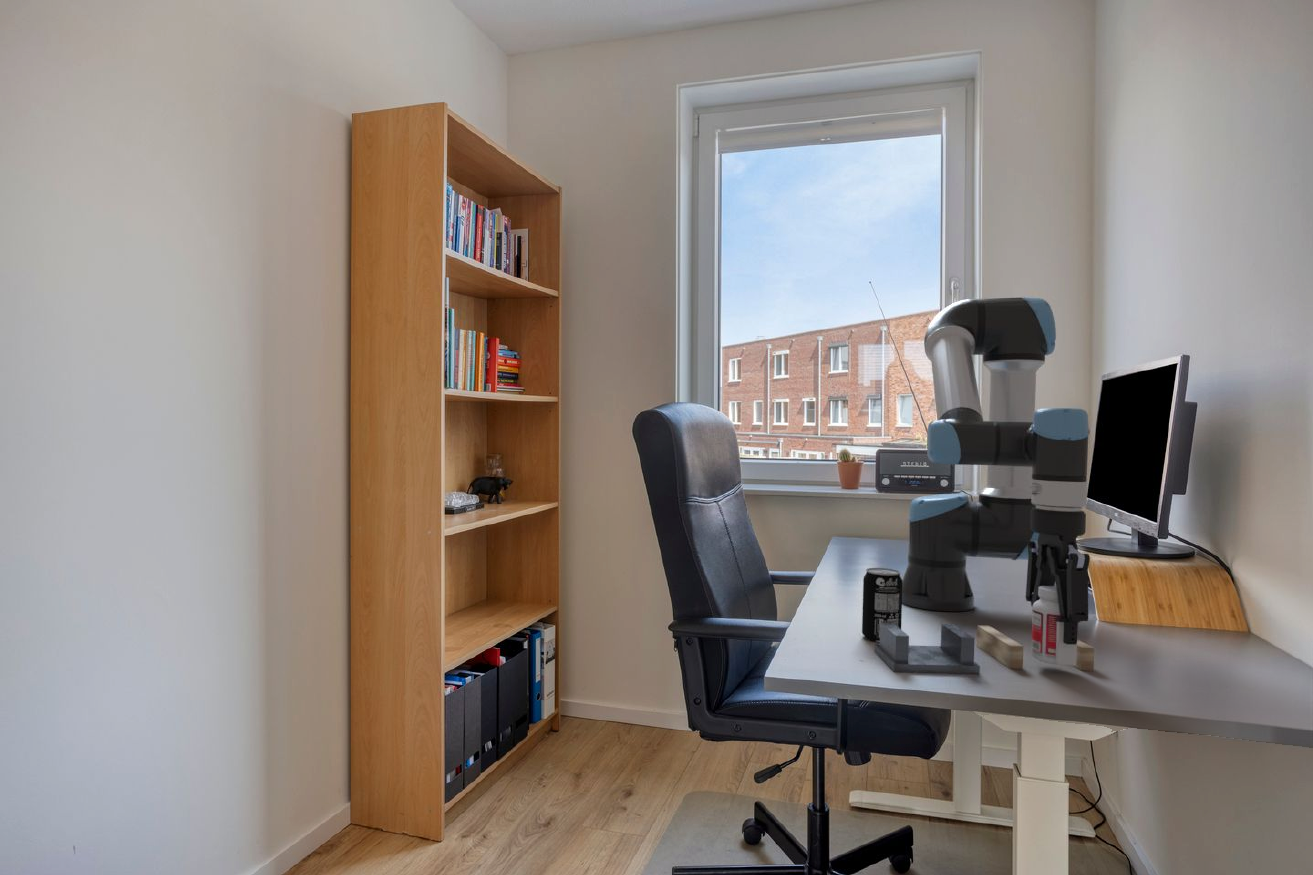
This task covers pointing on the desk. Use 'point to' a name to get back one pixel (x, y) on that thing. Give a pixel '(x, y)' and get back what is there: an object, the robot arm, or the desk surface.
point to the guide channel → (1013, 651)
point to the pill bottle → (1045, 624)
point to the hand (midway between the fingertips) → (1053, 656)
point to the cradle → (927, 651)
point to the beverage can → (881, 600)
